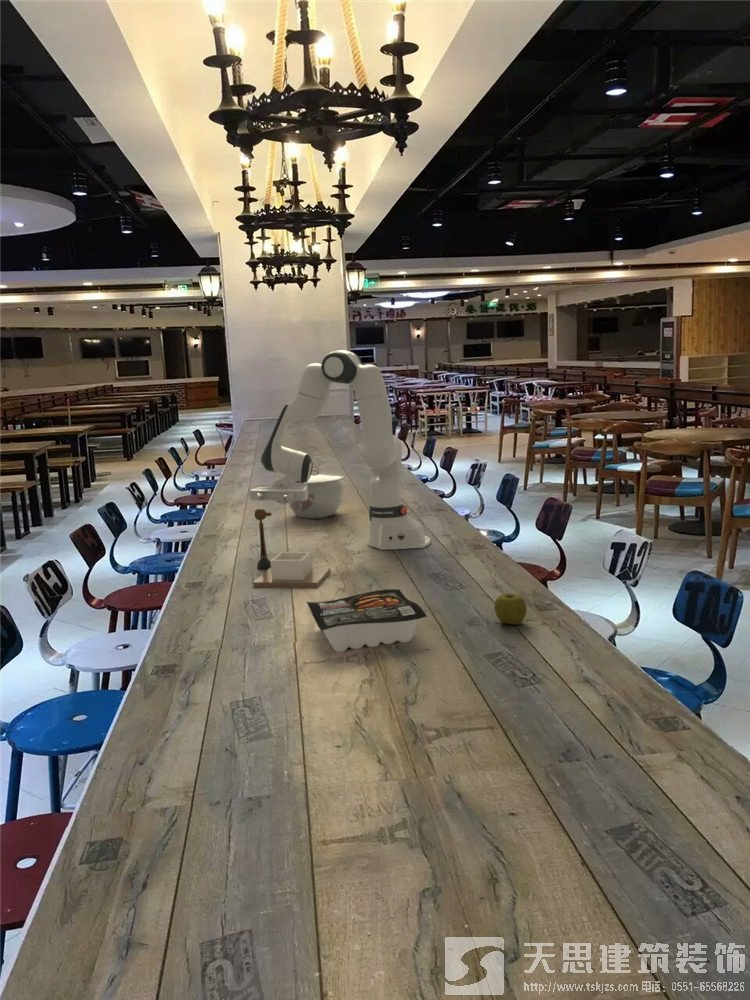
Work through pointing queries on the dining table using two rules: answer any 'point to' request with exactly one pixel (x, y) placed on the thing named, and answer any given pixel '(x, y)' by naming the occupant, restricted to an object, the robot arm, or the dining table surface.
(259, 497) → the robot arm
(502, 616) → the apple
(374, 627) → the food packaging
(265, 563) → the wooden tabletop sculpture
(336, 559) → the dining table surface
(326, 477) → the chamber pot
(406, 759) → the dining table surface
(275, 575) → the utensil holder
